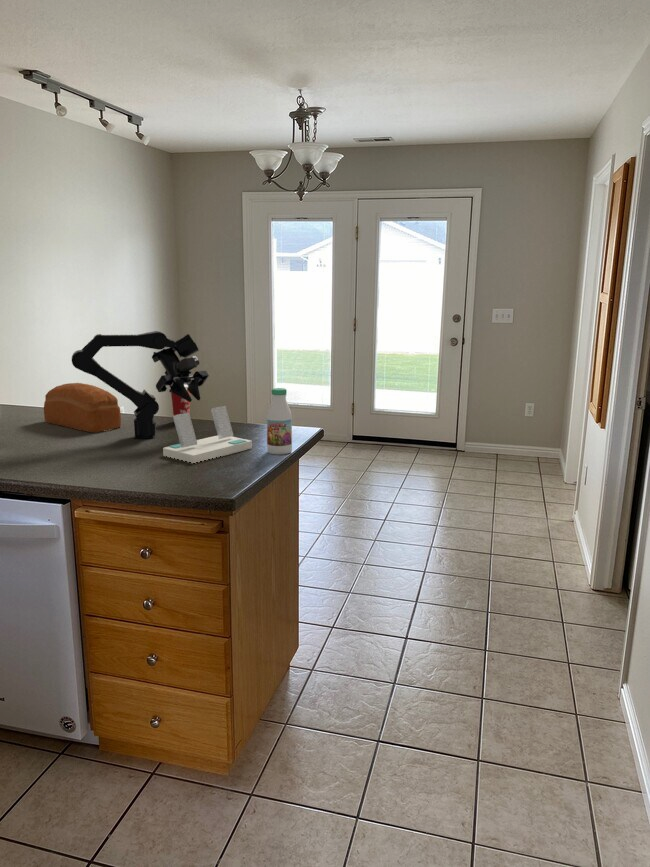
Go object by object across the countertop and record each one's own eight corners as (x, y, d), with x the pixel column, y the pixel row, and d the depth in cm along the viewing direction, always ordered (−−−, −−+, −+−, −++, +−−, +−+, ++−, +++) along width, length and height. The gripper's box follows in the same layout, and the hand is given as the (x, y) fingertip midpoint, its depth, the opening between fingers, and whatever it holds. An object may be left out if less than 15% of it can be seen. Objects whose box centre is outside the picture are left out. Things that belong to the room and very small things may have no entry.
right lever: (218, 439, 207) (210, 409, 207) (230, 436, 211) (222, 406, 211) (222, 438, 206) (213, 407, 206) (233, 435, 210) (225, 405, 210)
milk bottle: (267, 449, 208) (266, 387, 203) (291, 448, 208) (291, 386, 204) (267, 455, 200) (266, 390, 196) (292, 455, 201) (292, 390, 196)
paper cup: (187, 424, 244) (185, 387, 240) (168, 423, 245) (166, 386, 242) (195, 420, 251) (194, 384, 248) (176, 419, 252) (175, 383, 249)
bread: (92, 434, 227) (89, 390, 224) (41, 422, 247) (37, 381, 243) (125, 427, 238) (123, 385, 235) (74, 416, 257) (71, 377, 254)
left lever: (181, 448, 196) (172, 416, 196) (194, 445, 200) (185, 413, 200) (184, 447, 195) (175, 414, 195) (197, 444, 199) (189, 412, 199)
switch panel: (163, 455, 199) (162, 446, 198) (222, 441, 217) (221, 433, 217) (193, 463, 190) (193, 454, 190) (252, 448, 209) (251, 439, 208)
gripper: (159, 350, 208) (183, 388, 204) (204, 346, 222) (227, 381, 218) (145, 373, 215) (168, 410, 211) (190, 367, 229) (212, 402, 225)
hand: (195, 400), depth 216 cm, fingers open, 3 cm apart
